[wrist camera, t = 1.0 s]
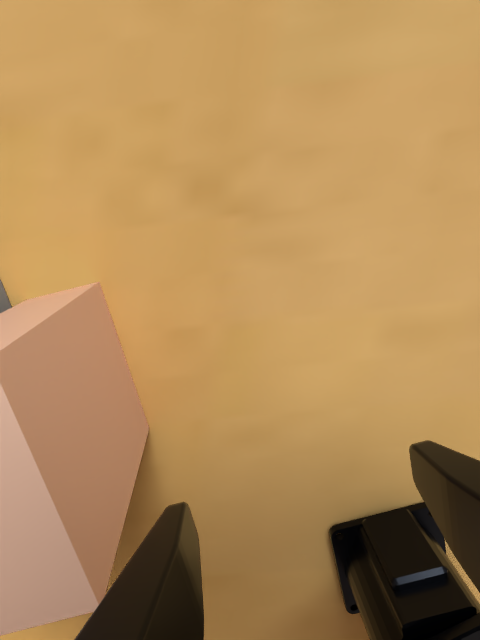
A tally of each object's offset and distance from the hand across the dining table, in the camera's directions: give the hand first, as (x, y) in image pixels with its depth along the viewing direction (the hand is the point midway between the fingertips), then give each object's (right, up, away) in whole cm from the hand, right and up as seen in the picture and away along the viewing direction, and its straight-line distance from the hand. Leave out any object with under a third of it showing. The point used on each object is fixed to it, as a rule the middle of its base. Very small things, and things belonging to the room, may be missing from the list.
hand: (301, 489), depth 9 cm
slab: (-9, +1, +11) cm, 14 cm away
